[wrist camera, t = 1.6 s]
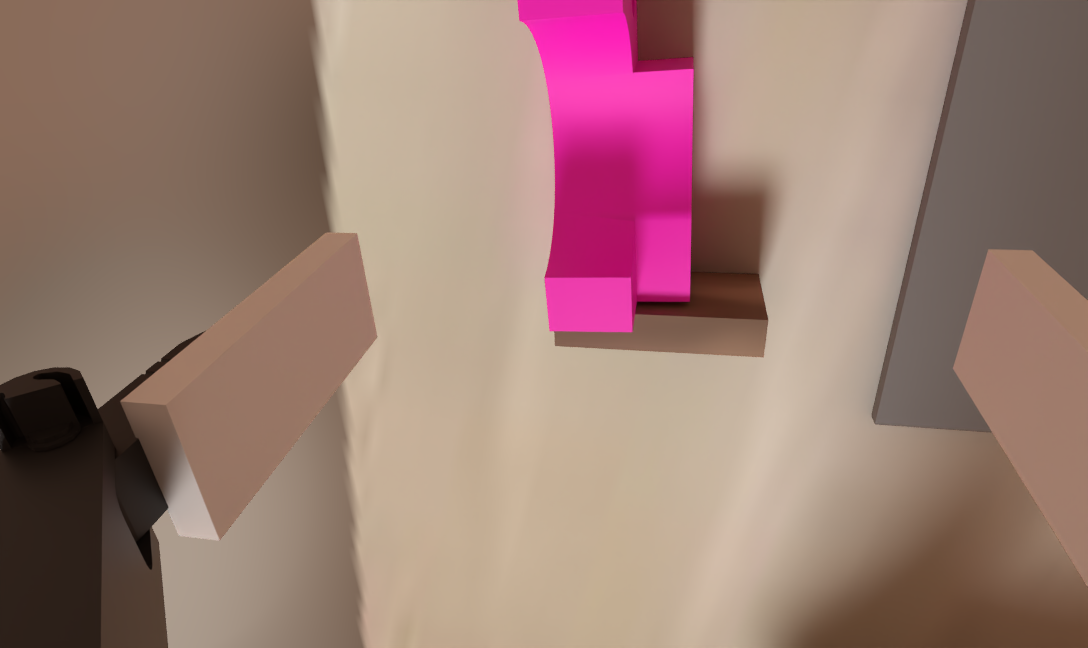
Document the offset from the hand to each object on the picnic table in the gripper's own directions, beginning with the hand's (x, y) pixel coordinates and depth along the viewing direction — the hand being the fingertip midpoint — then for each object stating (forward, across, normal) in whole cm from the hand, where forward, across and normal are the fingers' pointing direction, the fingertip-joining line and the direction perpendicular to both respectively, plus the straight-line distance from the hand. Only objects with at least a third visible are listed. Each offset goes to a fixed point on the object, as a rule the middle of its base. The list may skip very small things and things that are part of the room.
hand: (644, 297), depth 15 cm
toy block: (+21, +2, +1) cm, 21 cm away
